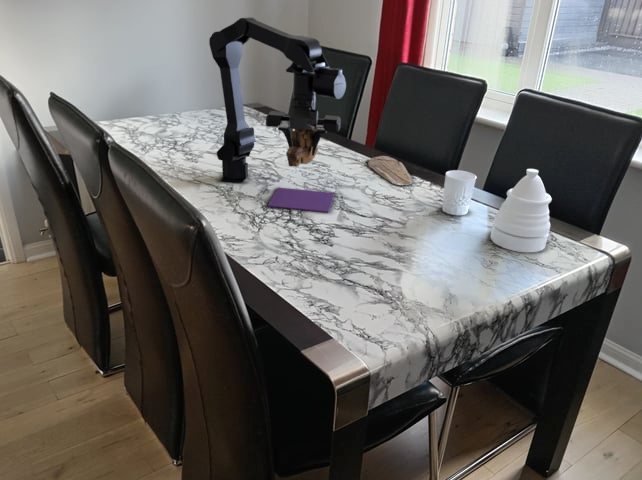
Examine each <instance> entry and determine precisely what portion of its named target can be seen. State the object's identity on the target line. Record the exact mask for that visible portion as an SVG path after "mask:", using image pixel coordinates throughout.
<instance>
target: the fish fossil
mask: <svg viewBox="0 0 642 480" xmlns="http://www.w3.org/2000/svg"><path fill="white" fill-rule="evenodd" d="M367 162H368V163H367V165H368V167H369V168H370V169H372V170H373V171H374V172H376V173H377V174H378V175H379V176H380V177H382V178H383V179H385V180H386V181H387V182H389V183H390V184H392V185H396V186H409V185H412V183H413V179H412V176H411V175H410V173H409V171H408V170H407V168H406V166H405V165H404V164H403V163H402V161H398V160H397V159H395V158H393V157H390V156H387V155H380V156H375V157H371V159H369V161H367Z"/></svg>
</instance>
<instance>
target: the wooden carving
mask: <svg viewBox="0 0 642 480" xmlns="http://www.w3.org/2000/svg"><path fill="white" fill-rule="evenodd" d="M315 130H316V126H311V125H310V126H309V129H308V130H302V129H293V132H292V138H291V139H292V143H293V146H291V147H289V146H288V148H287V150H286V154H285V155H286V158H287V161H288V162H287V164H288V166H289V167H300V166H299V165H300V164H301V165H308V164H310V163H311V162H312V161H313V160H314V159H315V158H316V155H317V153H318V151H319V148H318V147H317V148H316V151H315V153H314V156H312V148H313V142H314V136H315ZM320 141H321V139H320V140H319V142H320Z"/></svg>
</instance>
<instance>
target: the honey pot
mask: <svg viewBox="0 0 642 480" xmlns="http://www.w3.org/2000/svg"><path fill="white" fill-rule="evenodd" d="M525 173H526V175H524V176H523V177H522V178H521V179H520V180H519V181H518V182H517V183H516V184H515V185H514V187H512V188H510V189H508V190H507V191H506V196H507V197H506V199H505V200H504V201H502V203H501V206H500V207H499V209H498V212H497V213H496V214H495V216H494V218H493V219H494V220H493V223H492V227H491V232H490V240H491V242H493V243H494V244H495V245H497V246H499V247H501V248H503V249H506V250H509V251H512V252H513V251H514V252H519V253H539V252H541V251H543V250H544V249H545V248H546V245H547V242H548V237H549V233H550V229H551V222H550V219H551V217H550V209H549V204H551V203H552V200H553V198H552V197H551V195H550V194H549V193H547V191H546V188H545V186H544V183H543V180H542V179H541V177H540V176H539V169H536V168H527V169H526V172H525Z"/></svg>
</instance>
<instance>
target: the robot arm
mask: <svg viewBox="0 0 642 480" xmlns="http://www.w3.org/2000/svg"><path fill="white" fill-rule="evenodd" d="M251 39H252V40H255V41H257V42H258V43H262V44H264V45H266V46H268V47H270V48H273V49H275V50H278V51H279V52H281V53H282V54H283V55H284V57H285V58H286V59H287V60H289V61H291V62H292V63H291V64H290V66H288V67H287V68H286V69H285V72H286V73H290V74H293V86H292V87H293V88H292V105H291V108H290V113H289V115H286V114H285V111H278V110H271V111H270V112H269V113H268V114H267V115H266V117H265V127H269V128H270V127H271V128H277V130H278V131H280V132H282V133H283V135H284V137H285V139H286V142H287V145H288V148H289V147H291V146H293V143H292V139H291V138H292V132H293V131H294V130H295V129H302V130H308V129H309V126H310V125H311V126H314V127H315V136H314V142H313V148H312V156H314V153H315V151H316V148H318V146H319V143H320V141H321V138H322V136H323V135H326V134H327V133H328V132H332V133H338V132H339V131H340V129H341V124H342V123H341V122H342V119H341V117H340V116H339V115H327V114H326V115H325V116H324V118H319V110H318V109H316V104H317V103H316V102H317V96H319V97H324V98H331V99H336V100H340V99H342V98H343V96H344V95H345V92H346V89H347V82H346V78H345V76H344V74H343V69H342V68H333V67H332V68H331V66H330V65H329V62H328V60H327V59H326V57H325V55H324V52H323V51H322V45H321V42H320V41H319V39H317V38H314V37H310V36H304V35H293V34H290V33H287V32H285V31H282V30H280V29H278V28H276V27H273V26H271V25H268V24H266V23H263V22H261V21H260V20H257V19H256V18H254V17H252V16H251V17H249V16H248V17H240V18H239V19H237V20H236V21H235V22H233V23H231V24H229V25H228V26H226V27H224V28H222V29H220V30H219V31H214V32H213V33H212V34H211V35H210V37H209V39H208V42H209V43H208V45H209V49H210V52H211V56H212V59H213V60H214V62H215V64H216V65H217V66H218V69H219V72H220V79H221V88H222V94H223V102H224V108H225V109H224V110H225V117H226V126H225V129H224V132H223V145H221V147H220V148H219V149H218V150H217V151H216V157H217V160H219V161H221V168H222V169H221V171H222V172H221V173H222V177H221V178H220V182H229V183H230V182H231V183H238V184H239V183H240V184H242V183H244V182H245V180H246V179H247V178H248V177H249V163H248V162H247V158H248V157H250V155H251V153H252V150H253V149H254V148H255V143H256V141H257V140H256V138H255V129H254V127H253V126H251V127H250V126H249V125H248V124H247V122H246V118H245V116H246V115H245V109H244V102H243V92H242V85H241V77H240V69H239V67H240V66H239V65H240V63H241V59H242V56H243V45H245V44H246V43H248V42H249V41H250V40H251ZM319 140H320V141H319Z"/></svg>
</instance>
